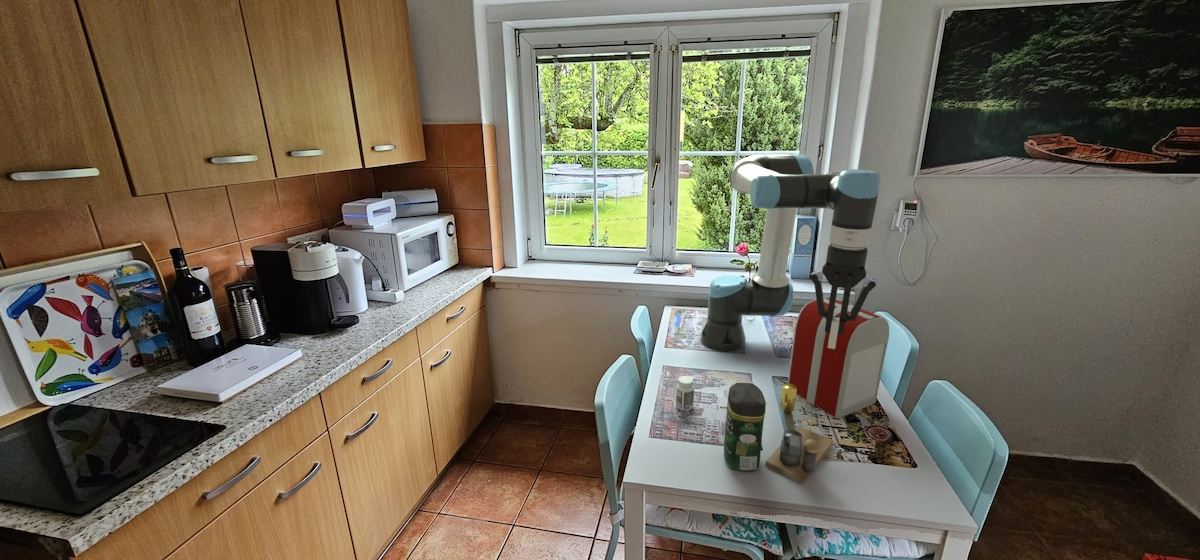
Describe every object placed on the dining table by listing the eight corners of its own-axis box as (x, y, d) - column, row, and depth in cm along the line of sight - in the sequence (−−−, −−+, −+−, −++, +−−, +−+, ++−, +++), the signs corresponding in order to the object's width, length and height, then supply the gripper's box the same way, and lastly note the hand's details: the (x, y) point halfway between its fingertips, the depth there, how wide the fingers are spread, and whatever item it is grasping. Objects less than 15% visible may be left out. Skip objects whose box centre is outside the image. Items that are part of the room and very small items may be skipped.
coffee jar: (721, 444, 119) (726, 377, 113) (754, 446, 118) (761, 379, 112) (725, 472, 110) (732, 401, 104) (761, 474, 109) (770, 403, 103)
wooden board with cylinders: (765, 465, 112) (769, 433, 109) (798, 429, 124) (802, 400, 121) (806, 486, 106) (811, 452, 103) (837, 446, 118) (842, 415, 115)
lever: (784, 453, 107) (788, 424, 104) (777, 409, 122) (780, 382, 120) (804, 456, 106) (808, 426, 103) (794, 411, 121) (797, 384, 119)
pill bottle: (694, 402, 136) (695, 376, 133) (691, 412, 132) (693, 385, 129) (677, 399, 138) (678, 373, 135) (674, 409, 133) (675, 382, 131)
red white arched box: (837, 419, 128) (853, 325, 119) (784, 387, 143) (796, 302, 134) (877, 402, 135) (895, 312, 126) (823, 373, 150) (836, 291, 141)
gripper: (813, 246, 102) (799, 347, 110) (884, 253, 97) (863, 359, 105) (816, 238, 108) (802, 333, 116) (882, 244, 103) (863, 344, 111)
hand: (831, 345), depth 110 cm, fingers closed
